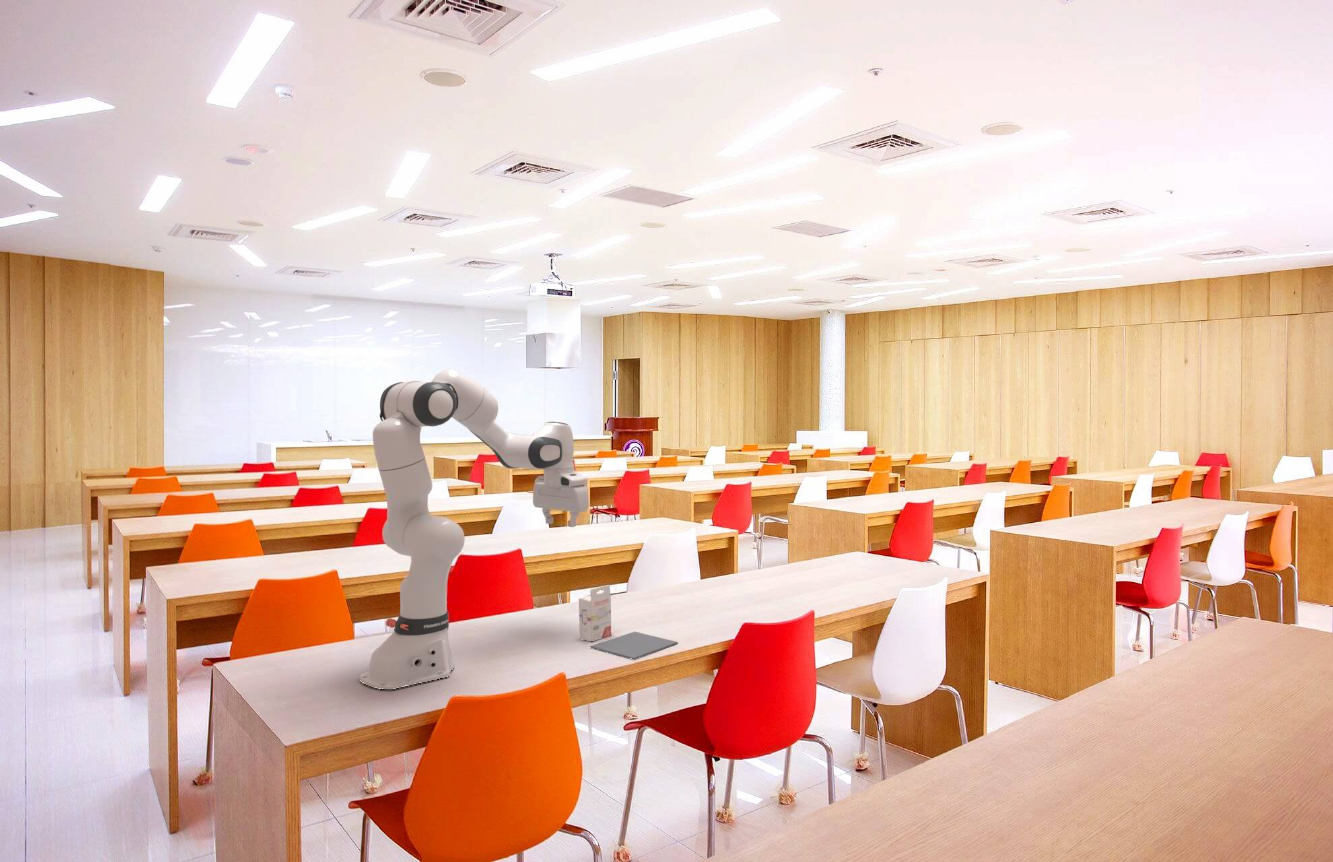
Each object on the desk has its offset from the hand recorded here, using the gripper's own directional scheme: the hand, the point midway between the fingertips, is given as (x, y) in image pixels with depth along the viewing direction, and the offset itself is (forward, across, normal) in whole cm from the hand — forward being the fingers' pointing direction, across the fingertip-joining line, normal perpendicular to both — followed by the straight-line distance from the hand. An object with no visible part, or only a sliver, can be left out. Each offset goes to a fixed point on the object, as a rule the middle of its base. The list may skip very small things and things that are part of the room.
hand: (560, 525), depth 235 cm
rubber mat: (+31, +26, +2) cm, 41 cm away
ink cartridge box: (+31, +12, +1) cm, 33 cm away
